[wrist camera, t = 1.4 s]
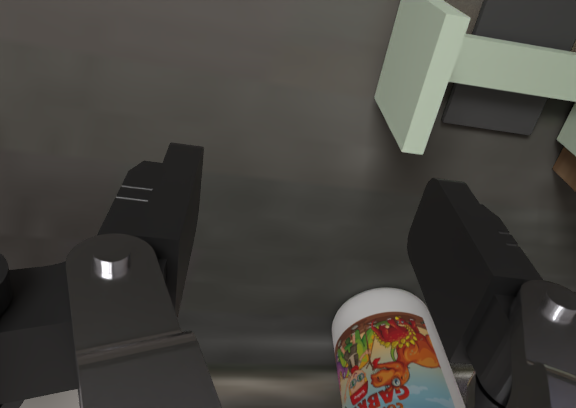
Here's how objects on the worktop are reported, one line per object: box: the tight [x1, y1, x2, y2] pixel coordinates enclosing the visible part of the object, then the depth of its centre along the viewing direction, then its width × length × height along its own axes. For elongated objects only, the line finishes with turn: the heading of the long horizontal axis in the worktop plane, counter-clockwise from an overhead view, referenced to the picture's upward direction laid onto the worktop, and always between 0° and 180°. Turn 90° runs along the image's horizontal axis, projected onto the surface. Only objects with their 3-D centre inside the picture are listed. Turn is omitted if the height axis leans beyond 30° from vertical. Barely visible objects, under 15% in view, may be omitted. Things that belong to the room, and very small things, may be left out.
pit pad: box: [441, 0, 576, 135], centre depth 28 cm, size 8×6×1 cm
